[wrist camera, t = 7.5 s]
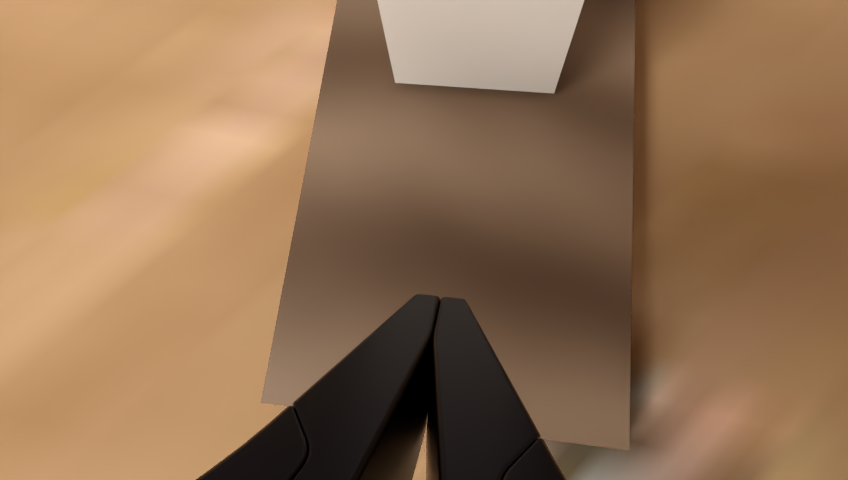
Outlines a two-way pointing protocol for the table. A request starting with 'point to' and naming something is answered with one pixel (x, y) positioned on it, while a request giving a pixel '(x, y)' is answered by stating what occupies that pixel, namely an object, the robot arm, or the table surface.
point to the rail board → (473, 220)
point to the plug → (479, 42)
